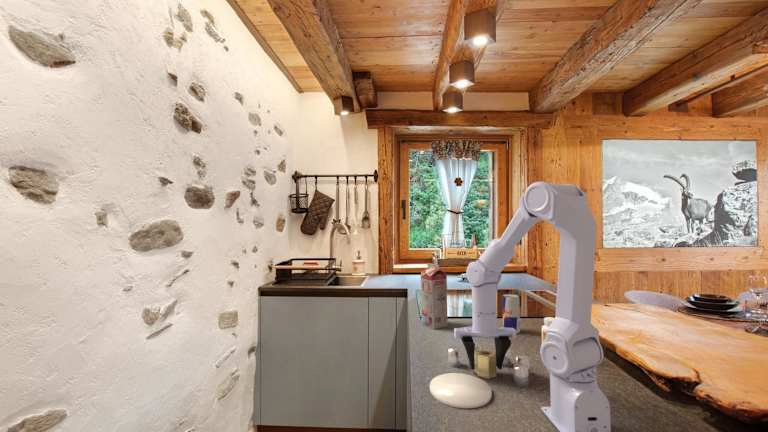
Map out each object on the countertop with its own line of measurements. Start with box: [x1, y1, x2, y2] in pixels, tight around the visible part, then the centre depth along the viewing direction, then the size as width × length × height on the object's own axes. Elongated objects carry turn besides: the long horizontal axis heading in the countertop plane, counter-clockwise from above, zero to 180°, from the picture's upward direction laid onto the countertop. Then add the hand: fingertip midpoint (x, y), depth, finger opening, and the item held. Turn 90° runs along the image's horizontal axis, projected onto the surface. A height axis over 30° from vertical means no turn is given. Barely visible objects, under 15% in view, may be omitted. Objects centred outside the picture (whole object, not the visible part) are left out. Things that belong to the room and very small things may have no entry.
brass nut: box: [474, 348, 497, 379], centre depth 76 cm, size 5×4×5 cm
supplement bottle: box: [541, 316, 555, 344], centre depth 86 cm, size 5×5×10 cm
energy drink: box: [501, 293, 521, 335], centre depth 106 cm, size 5×5×12 cm
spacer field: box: [447, 340, 531, 388], centre depth 77 cm, size 16×18×4 cm
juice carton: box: [420, 262, 449, 330], centre depth 113 cm, size 7×7×22 cm
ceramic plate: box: [429, 372, 493, 409], centre depth 68 cm, size 13×13×1 cm
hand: (485, 367), depth 76 cm, fingers open, 6 cm apart
